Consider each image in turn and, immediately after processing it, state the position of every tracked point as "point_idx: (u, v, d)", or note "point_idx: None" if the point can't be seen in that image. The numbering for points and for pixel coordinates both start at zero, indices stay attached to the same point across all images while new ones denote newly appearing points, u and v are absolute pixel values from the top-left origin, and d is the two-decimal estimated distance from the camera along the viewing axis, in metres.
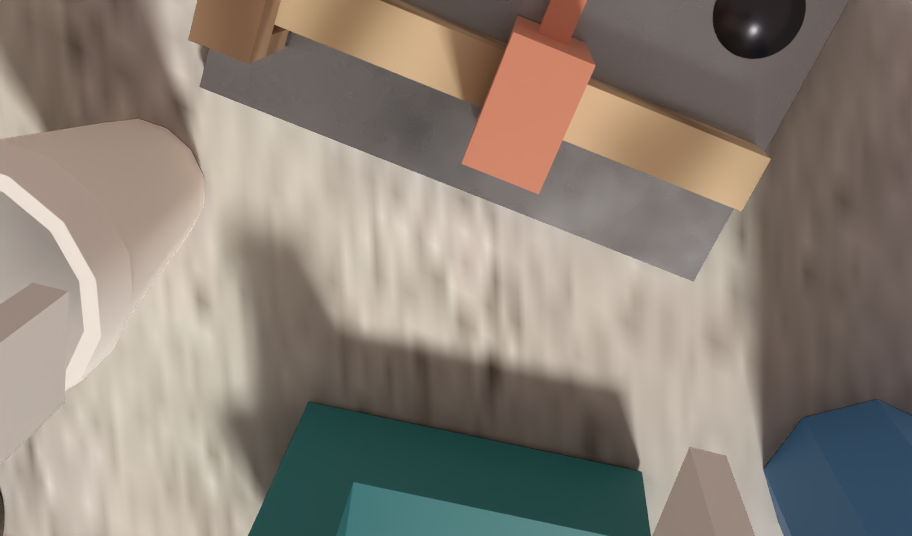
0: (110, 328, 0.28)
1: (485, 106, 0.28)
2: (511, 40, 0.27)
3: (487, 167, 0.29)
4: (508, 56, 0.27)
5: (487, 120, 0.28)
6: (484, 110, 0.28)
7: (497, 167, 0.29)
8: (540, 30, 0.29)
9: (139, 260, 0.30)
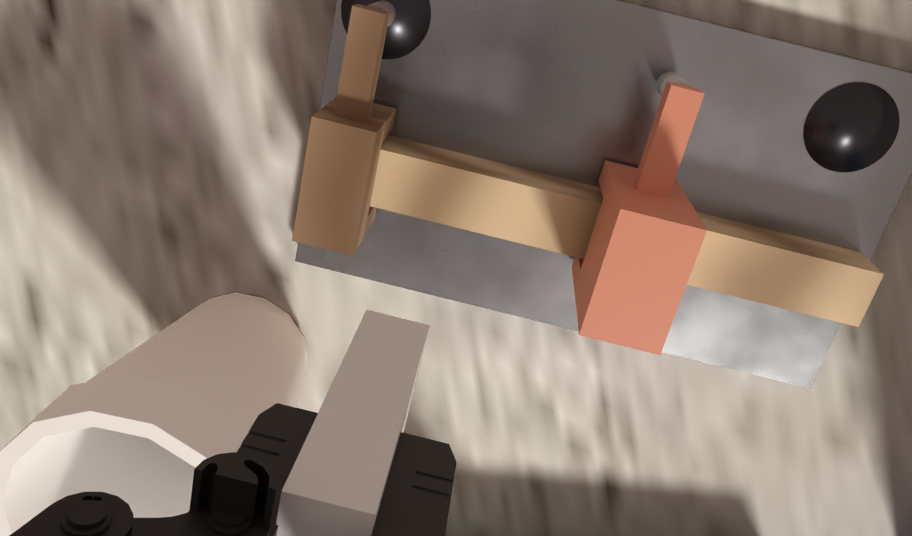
0: None
1: (598, 279, 0.28)
2: (619, 216, 0.27)
3: (605, 335, 0.29)
4: (617, 232, 0.27)
5: (601, 293, 0.28)
6: (597, 283, 0.28)
7: (615, 334, 0.28)
8: (638, 188, 0.29)
9: None
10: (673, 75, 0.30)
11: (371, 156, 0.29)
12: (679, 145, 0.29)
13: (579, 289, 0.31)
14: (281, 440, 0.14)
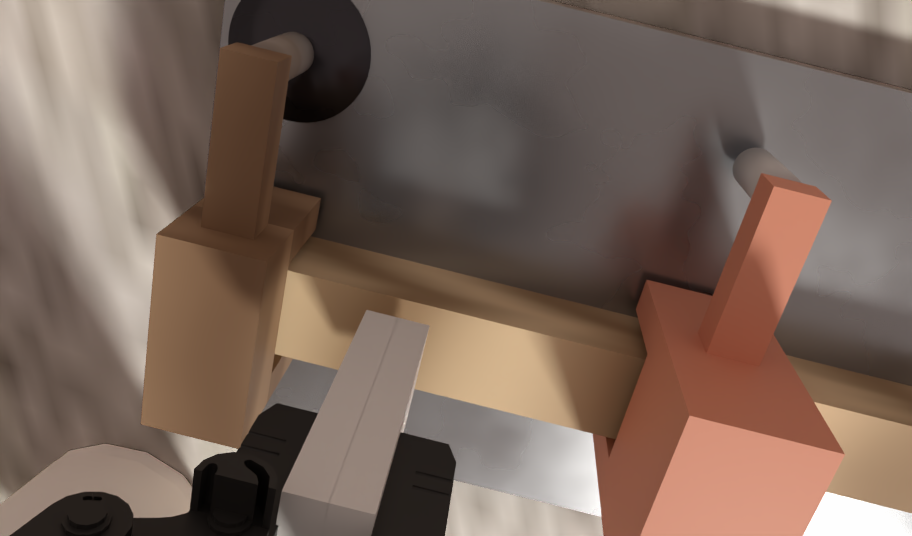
0: None
1: (646, 524, 0.16)
2: (687, 428, 0.15)
3: None
4: (682, 452, 0.15)
5: None
6: (645, 531, 0.16)
7: None
8: (710, 349, 0.18)
9: None
10: (765, 157, 0.18)
11: (261, 299, 0.17)
12: (783, 284, 0.17)
13: (608, 498, 0.19)
14: (281, 440, 0.14)
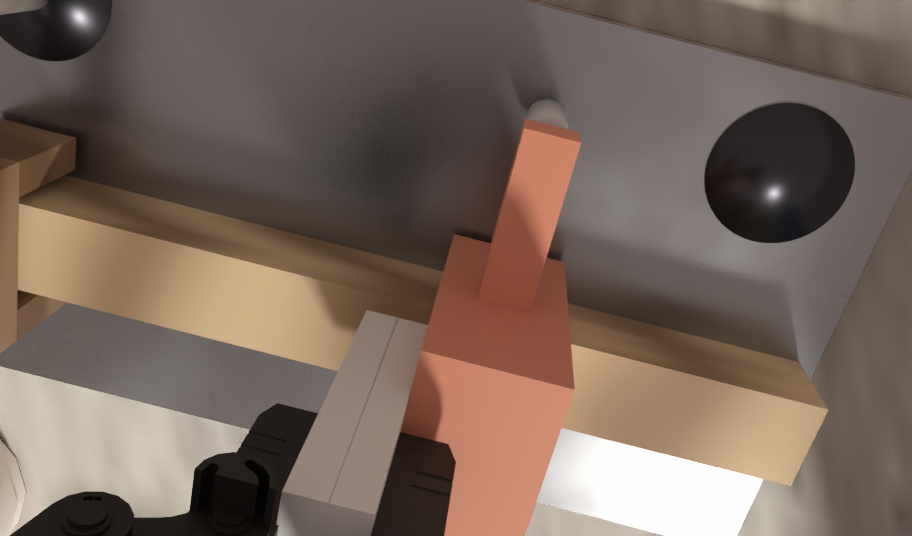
0: None
1: None
2: (420, 363, 0.15)
3: None
4: (419, 388, 0.15)
5: None
6: None
7: None
8: (480, 295, 0.18)
9: None
10: (545, 107, 0.18)
11: None
12: (543, 228, 0.17)
13: None
14: (281, 440, 0.14)
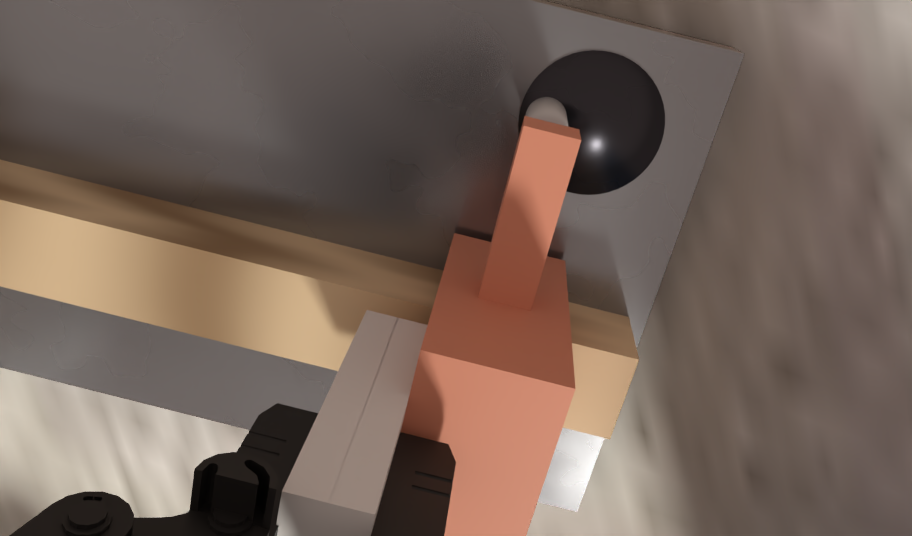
0: None
1: None
2: (419, 363, 0.15)
3: None
4: (418, 388, 0.15)
5: None
6: None
7: None
8: (481, 294, 0.18)
9: None
10: (545, 104, 0.18)
11: None
12: (544, 226, 0.17)
13: None
14: (281, 440, 0.14)
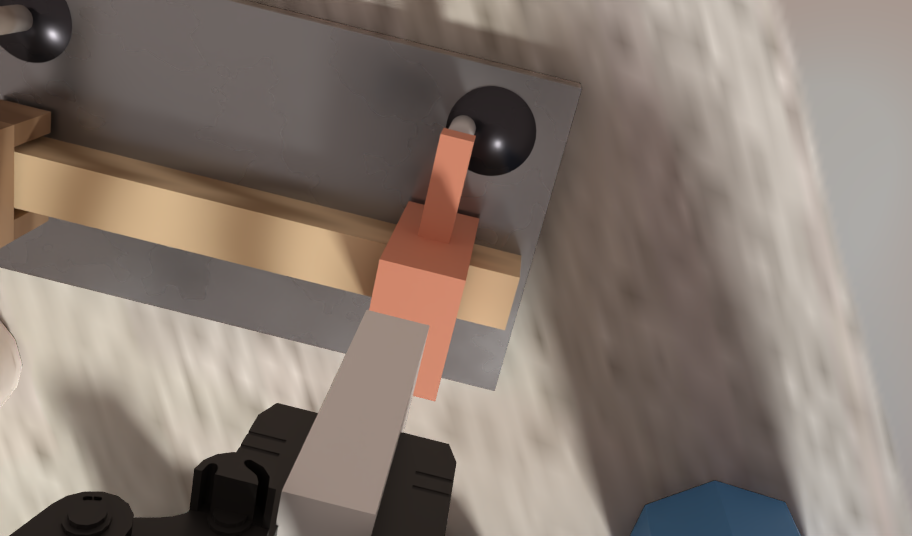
0: None
1: None
2: (379, 267, 0.27)
3: None
4: (379, 282, 0.27)
5: None
6: None
7: None
8: (419, 233, 0.29)
9: None
10: (460, 120, 0.30)
11: None
12: (454, 192, 0.29)
13: None
14: (281, 440, 0.14)
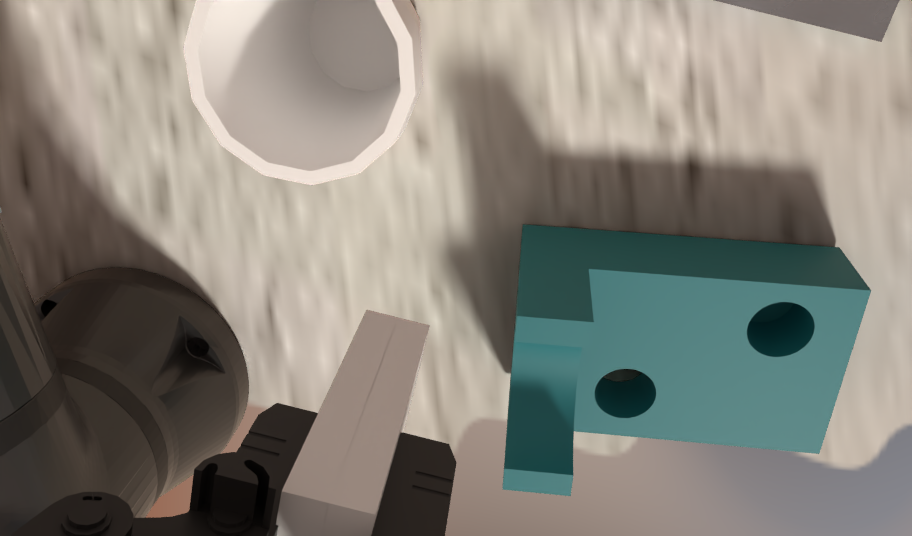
0: (417, 91, 0.32)
1: None
2: None
3: None
4: None
5: None
6: None
7: None
8: None
9: None
10: None
11: None
12: None
13: None
14: (281, 440, 0.14)
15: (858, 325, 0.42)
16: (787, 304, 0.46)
